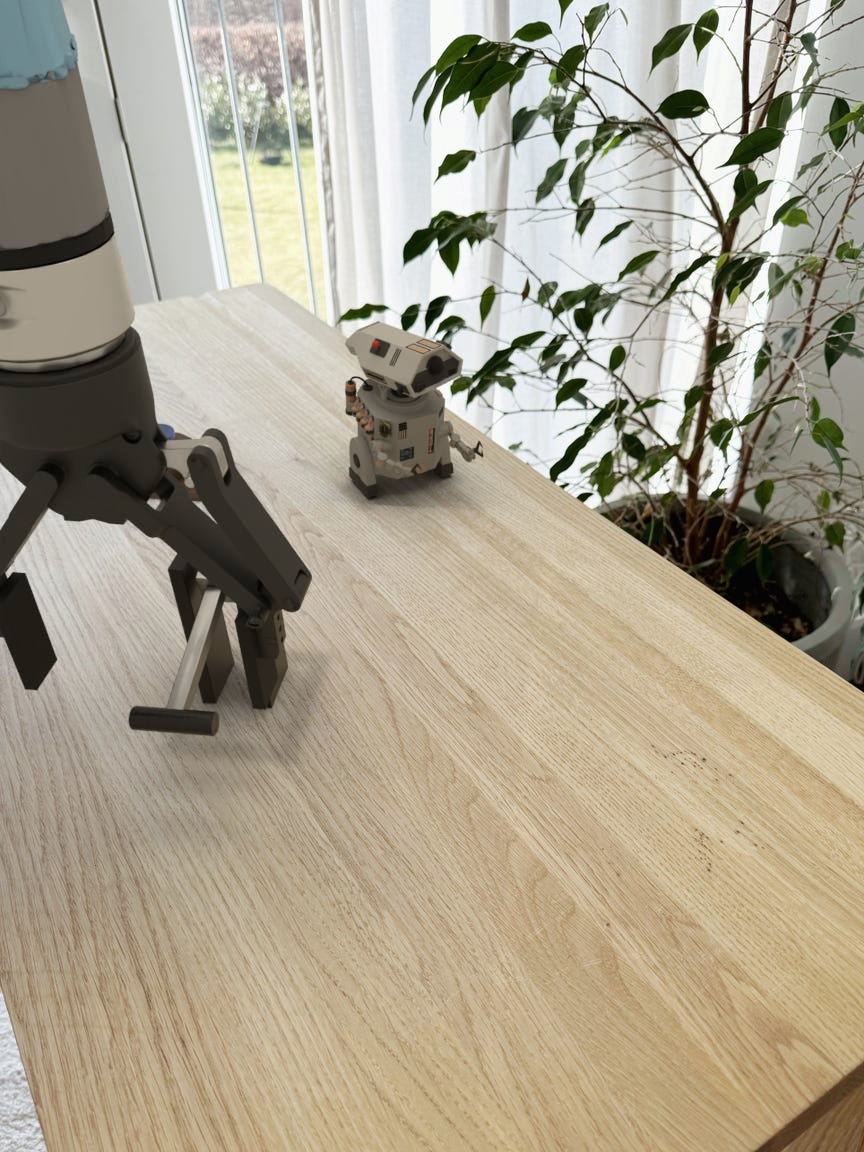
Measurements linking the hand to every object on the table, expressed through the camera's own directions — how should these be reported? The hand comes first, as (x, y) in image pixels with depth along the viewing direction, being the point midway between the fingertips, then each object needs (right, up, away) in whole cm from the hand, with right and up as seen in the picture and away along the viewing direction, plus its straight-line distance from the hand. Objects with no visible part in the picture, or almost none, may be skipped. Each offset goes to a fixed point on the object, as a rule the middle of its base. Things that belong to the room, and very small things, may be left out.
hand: (152, 684), depth 59 cm
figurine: (+13, +17, +35) cm, 41 cm away
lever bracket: (+2, -1, +13) cm, 14 cm away
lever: (+2, +2, +4) cm, 5 cm away
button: (-10, +20, +33) cm, 40 cm away
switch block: (-10, +17, +35) cm, 41 cm away
